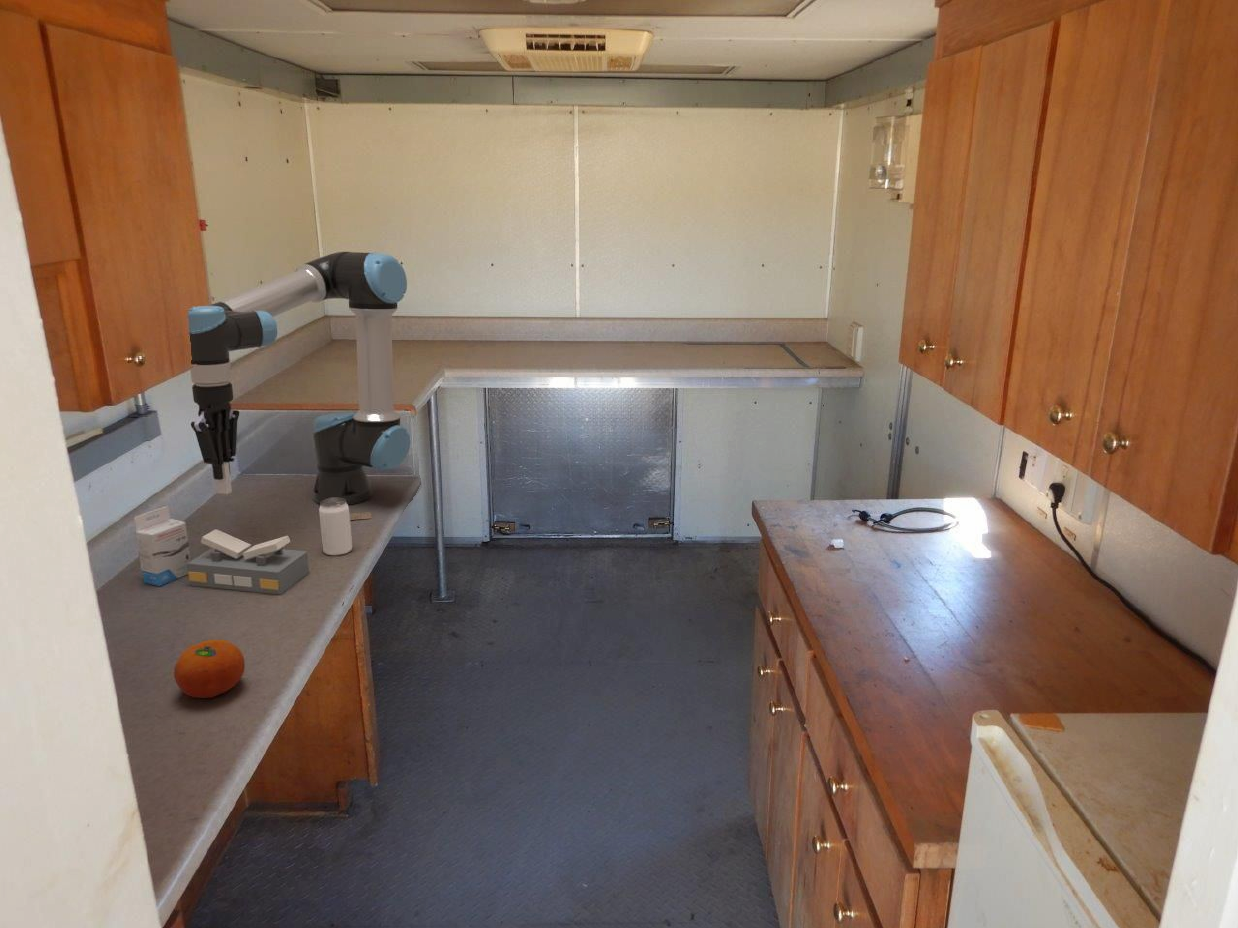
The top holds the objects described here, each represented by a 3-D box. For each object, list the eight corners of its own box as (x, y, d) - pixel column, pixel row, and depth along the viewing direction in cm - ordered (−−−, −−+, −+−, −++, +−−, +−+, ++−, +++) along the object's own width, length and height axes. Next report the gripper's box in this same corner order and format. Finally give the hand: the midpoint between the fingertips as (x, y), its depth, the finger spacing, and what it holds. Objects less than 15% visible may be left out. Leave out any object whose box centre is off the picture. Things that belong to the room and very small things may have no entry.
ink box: (158, 587, 182) (147, 521, 178) (142, 582, 184) (131, 517, 180) (193, 572, 190) (184, 508, 185) (178, 567, 192) (168, 504, 187)
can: (344, 557, 198) (339, 507, 194) (317, 554, 199) (312, 505, 195) (357, 546, 204) (353, 498, 200) (332, 544, 205) (327, 495, 201)
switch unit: (222, 564, 193) (218, 535, 191) (309, 572, 190) (306, 543, 187) (189, 585, 183) (184, 555, 181) (280, 595, 179) (276, 564, 177)
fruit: (196, 673, 150) (189, 631, 148) (256, 672, 150) (251, 631, 148) (166, 708, 140) (158, 664, 138) (231, 707, 140) (225, 664, 138)
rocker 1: (213, 538, 188) (215, 528, 187) (248, 554, 187) (251, 544, 187) (200, 546, 184) (202, 536, 183) (235, 562, 183) (237, 553, 182)
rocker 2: (259, 555, 187) (255, 545, 186) (292, 545, 184) (287, 535, 184) (247, 563, 183) (242, 553, 182) (280, 554, 180) (275, 543, 180)
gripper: (215, 376, 186) (227, 482, 192) (174, 387, 174) (188, 500, 180) (247, 378, 184) (257, 484, 191) (208, 390, 172) (220, 503, 179)
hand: (224, 492), depth 186 cm, fingers closed
